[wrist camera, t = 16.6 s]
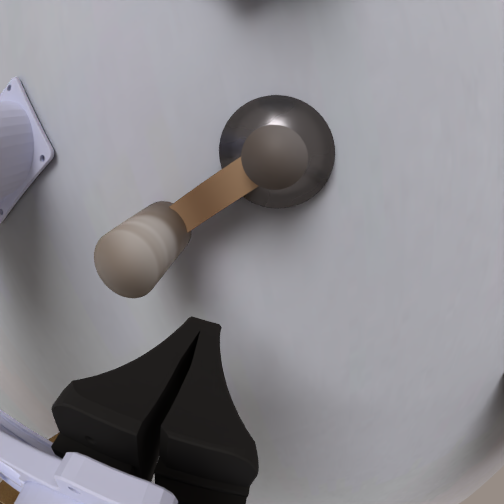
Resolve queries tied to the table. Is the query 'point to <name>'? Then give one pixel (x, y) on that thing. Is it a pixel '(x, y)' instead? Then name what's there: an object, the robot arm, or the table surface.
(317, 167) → the crank base
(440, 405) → the table surface
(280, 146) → the crank lever
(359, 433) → the table surface
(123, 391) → the robot arm
